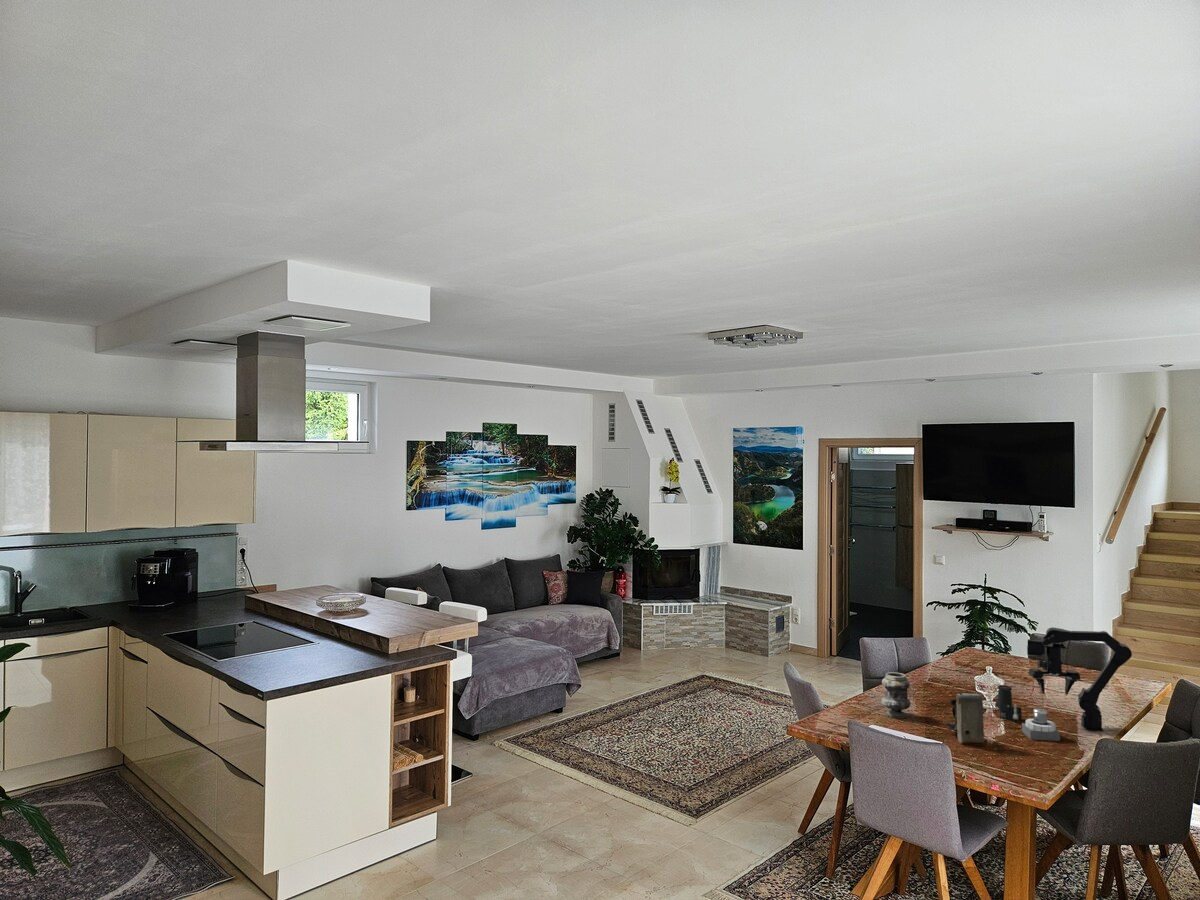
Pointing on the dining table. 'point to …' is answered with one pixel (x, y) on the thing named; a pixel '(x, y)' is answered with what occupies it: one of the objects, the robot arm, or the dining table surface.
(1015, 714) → the scope
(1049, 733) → the segmented white collar
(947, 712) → the dining table surface
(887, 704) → the grey stone urn
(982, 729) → the vintage camera
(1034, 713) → the door knob
